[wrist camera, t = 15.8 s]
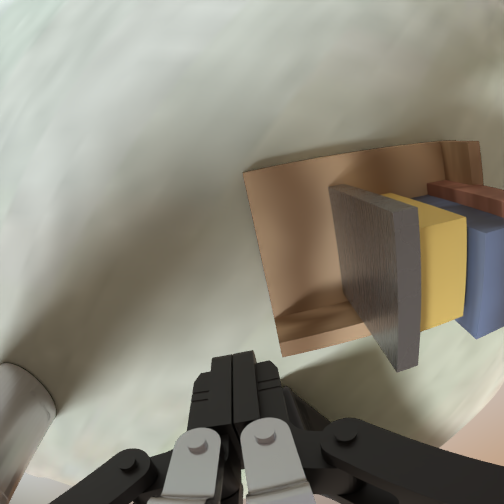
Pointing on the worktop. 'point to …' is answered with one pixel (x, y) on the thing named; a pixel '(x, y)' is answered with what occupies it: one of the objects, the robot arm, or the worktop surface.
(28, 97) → the worktop surface
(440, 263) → the book
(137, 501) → the robot arm
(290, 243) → the shelf
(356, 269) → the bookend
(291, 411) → the magazine
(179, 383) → the worktop surface
